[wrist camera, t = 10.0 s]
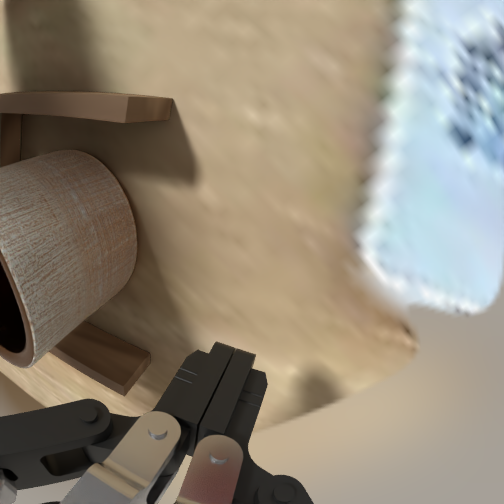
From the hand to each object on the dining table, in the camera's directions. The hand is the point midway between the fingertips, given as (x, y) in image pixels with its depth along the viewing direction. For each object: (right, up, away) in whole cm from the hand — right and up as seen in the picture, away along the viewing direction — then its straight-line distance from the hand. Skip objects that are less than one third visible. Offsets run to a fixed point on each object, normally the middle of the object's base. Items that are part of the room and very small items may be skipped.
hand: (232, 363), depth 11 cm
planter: (-11, +6, +9) cm, 16 cm away
